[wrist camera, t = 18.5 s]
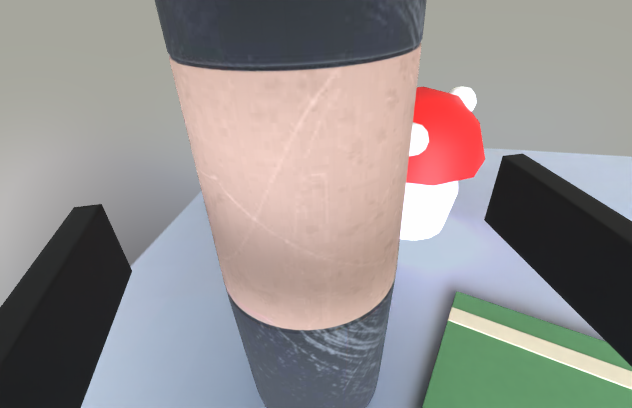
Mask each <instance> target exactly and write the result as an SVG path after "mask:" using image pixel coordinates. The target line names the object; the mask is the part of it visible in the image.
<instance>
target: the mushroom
mask: <svg viewBox="0 0 632 408" xmlns="http://www.w3.org/2000/svg"><path fill="white" fill-rule="evenodd" d="M476 103H477V102H476V96H475V93H474V92H473V90H472V89H471V88H468V87H464V86H461V87H454V88H453V89H452V90H451V91H450V92H448V93H446V92H442V91H438V90H434V89H430V88H427V87H418V88H417V89H416V98H415V107H414V116H413V125H412V134H411V143H410V152H409V161H408V170H407V179H406V188H405V197H404V206H403V215H402V224H401V233H400V239H407V240H420V239H426V238H430V237H432V236H434V235H435V234H437V233H439V232H440V230H441V229H442V227H443V225H444V223H445V221H446V218H447V216H448V214H449V212H450V209H451V207H452V205H453V203H454V200H455V198H456V196H457V193H458V180H462V179H467V178H472V177H474V175H475V174H476V172H477V171H478V169H479V168H480V166H481V165H482V163H483V162H484V160H485V156H484V149H483V143H482V136H481V129H480V123H479V121H478V120H477V119H476V118H475V116H474V115H473V113H472V111H473V109H474V107H475V105H476Z"/></svg>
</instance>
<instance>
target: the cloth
mask: <svg viewBox="0 0 632 408" xmlns="http://www.w3.org/2000/svg"><path fill="white" fill-rule="evenodd" d="M422 408H632V367H631V366H630V365H629V364H628V363H627V362H626V361H625V360H624V359H623V358H622V357H621V356H620V355H619V354H618V353H617V352H616V351H615V350H614V349H613V348H612V347H611V346H610V345H609V344H608V343H607V342H605V341H602V340H599V339H596V338H593V337H590V336H587V335H584V334H581V333H579V332H576V331H573V330H570V329H567V328H564V327H561V326H558V325H555V324H552V323H549V322H546V321H543V320H540V319H537V318H534V317H531V316H528V315H525V314H522V313H519V312H517V311H514V310H511V309H508V308H505V307H502V306H499V305H496V304H493V303H490V302H487V301H484V300H481V299H478V298H475V297H472V296H469V295H466V294H463V293H460V292H457V291H456V294H455V297H454V301H453V304H452V307H451V311H450V314H449V318H448V321H447V324H446V328H445V331H444V335H443V338H442V341H441V345H440V348H439V352H438V355H437V358H436V362H435V365H434V369H433V372H432V375H431V379H430V382H429V386H428V389H427V392H426V396H425V399H424V402H423V406H422Z"/></svg>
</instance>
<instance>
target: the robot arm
mask: <svg viewBox="0 0 632 408" xmlns="http://www.w3.org/2000/svg"><path fill="white" fill-rule="evenodd" d="M484 220H485V221H486V222H487V223H488V224H489V225H490V226H491V227H492V228H493V229H494V230H495V231H496V232H497V233H498V234H499V235H500V236H501V237H502V238H503V239H504V240H505V241H506V242H507V243H508V244H509V245H510V246H511V247H512V248H513V249H514V250H515V251H516V252H517V253H518V254H519V255H520V256H521V257H522V258H523V259H524V260H525V261H526V262H527V263H528V264H529V265H530V266H531V267H532V268H533V269H534V270H535V271H536V272H537V273H538V274H539V275H540V276H541V277H542V278H543V279H544V280H545V281H546V282H547V283H548V284H549V285H550V286H551V287H552V288H553V289H554V290H555V291H556V292H557V293H558V294H559V295H560V296H561V297H562V298H563V299H564V300H565V301H566V302H567V303H568V304H569V305H570V306H571V307H572V308H573V309H574V310H575V311H576V312H577V313H578V314H579V315H580V316H581V317H582V318H583V319H584V320H585V321H586V322H587V323H588V324H589V325H590V326H591V327H592V328H593V329H594V330H595V331H596V332H597V333H598V334H599V335H600V336H601V337H602V338H603V339H604V340H605V341H606V342H607V343H608V344H609V345H610V346H611V347H612V348H613V349H614V350H615V351H616V352H617V353H618V354H619V355H620V356H621V357H622V358H623V359H624V360H625V361H626V362H627V363H628V364H629V365H630V366H631V367H632V221H630V220H629V219H627V218H625V217H624V216H622V215H621V214H619V213H617V212H616V211H614V210H613V209H611V208H609V207H608V206H606V205H605V204H603V203H601V202H600V201H598V200H596V199H595V198H593V197H592V196H590V195H588V194H587V193H585V192H584V191H582V190H580V189H579V188H577V187H576V186H574V185H572V184H571V183H569V182H568V181H566V180H564V179H563V178H561V177H560V176H558V175H556V174H555V173H553V172H551V171H550V170H548V169H547V168H545V167H543V166H542V165H540V164H539V163H537V162H535V161H534V160H532V159H531V158H529V157H527V156H526V155H524V154H516V155H508V156H503V157H502V161H501V164H500V168H499V171H498V175H497V178H496V182H495V185H494V188H493V192H492V195H491V199H490V202H489V206H488V209H487V213H486V216H485V219H484ZM131 273H132V270H131V268H130V265H129V263H128V261H127V259H126V257H125V254H124V253H123V250H122V248H121V246H120V243H119V241H118V239H117V237H116V235H115V233H114V230H113V228H112V226H111V224H110V222H109V220H108V217H107V215H106V213H105V211H104V208H103V206H102V204H99V205H90V206H83V207H74V208H73V210H72V211H71V212H70V214H69V215H68V216H67V218H66V219H65V220H64V222H63V223H62V225H61V226H60V227H59V229H58V230H57V231H56V233H55V234H54V235H53V237H52V238H51V239H50V241H49V242H48V244H47V245H46V246H45V248H44V249H43V250H42V252H41V253H40V254H39V256H38V257H37V258H36V260H35V261H34V262H33V264H32V265H31V267H30V268H29V269H28V271H27V272H26V273H25V275H24V276H23V277H22V279H21V280H20V282H19V283H18V284H17V286H16V287H15V288H14V290H13V291H12V292H11V294H10V295H9V297H8V298H7V299H6V301H5V302H4V303H3V305H2V306H1V307H0V408H81V405H82V403H83V400H84V397H85V395H86V392H87V389H88V387H89V384H90V381H91V379H92V376H93V373H94V371H95V368H96V365H97V363H98V360H99V357H100V355H101V352H102V350H103V347H104V344H105V342H106V339H107V336H108V334H109V331H110V328H111V326H112V323H113V320H114V318H115V315H116V312H117V310H118V307H119V304H120V302H121V299H122V296H123V294H124V291H125V288H126V286H127V283H128V281H129V278H130V275H131Z"/></svg>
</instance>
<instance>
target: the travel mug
mask: <svg viewBox="0 0 632 408" xmlns="http://www.w3.org/2000/svg"><path fill="white" fill-rule="evenodd" d="M155 3H156V7H157V11H158V15H159V19H160V23H161V27H162V31H163V35H164V39H165V43H166V48H167V51H168V53H169V60H170V63H171V67H172V72H173V76H174V80H175V84H176V88H177V92H178V96H179V100H180V104H181V108H182V113H183V117H184V121H185V124H186V129H187V133H188V137H189V141H190V145H191V149H192V153H193V157H194V161H195V165H196V169H197V174H198V178H199V182H200V186H201V190H202V194H203V198H204V202H205V206H206V210H207V214H208V218H209V222H210V226H211V230H212V234H213V239H214V243H215V247H216V251H217V255H218V259H219V263H220V267H221V271H222V275H223V279H224V283H225V286H226V290H227V293H228V297H229V300H230V303H231V306H232V309H233V313H234V316H235V319H236V322H237V326H238V329H239V332H240V335H241V339H242V342H243V345H244V348H245V351H246V355H247V358H248V361H249V364H250V368H251V371H252V374H253V377H254V380H255V383H256V386H257V389H258V392H259V394H260V397H261V399H262V401H263V403H264V404H265V406H266V407H267V408H366V406H367V405H368V404H369V402H370V400H371V398H372V396H373V394H374V391H375V388H376V384H377V380H378V374H379V369H380V364H381V358H382V352H383V346H384V340H385V334H386V329H387V323H388V317H389V311H390V305H391V299H392V293H393V287H394V281H395V274H396V269H397V260H398V251H399V242H400V233H401V224H402V215H403V206H404V197H405V188H406V179H407V170H408V161H409V152H410V143H411V134H412V125H413V116H414V107H415V98H416V89H417V79H418V71H419V62H420V53H421V40H422V35H423V26H424V17H425V9H426V0H155Z"/></svg>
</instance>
